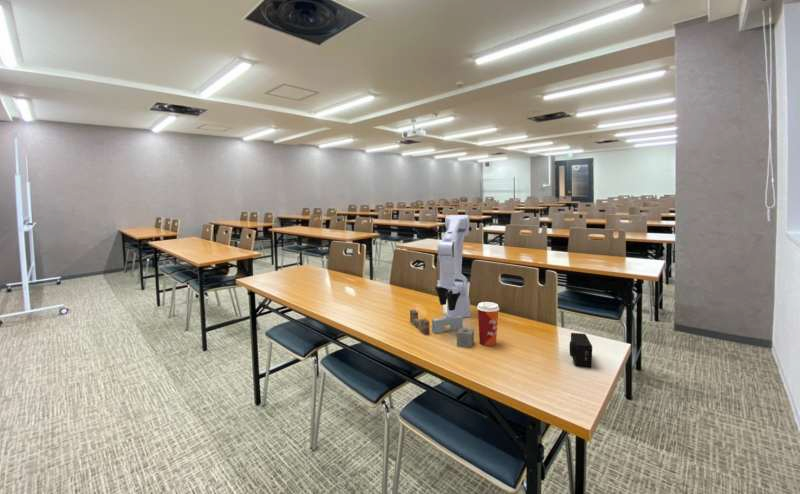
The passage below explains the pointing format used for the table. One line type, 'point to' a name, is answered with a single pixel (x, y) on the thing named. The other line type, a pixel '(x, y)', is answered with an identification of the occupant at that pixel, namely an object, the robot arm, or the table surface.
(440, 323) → the pale blue-gray block
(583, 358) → the digital camera
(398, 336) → the table surface
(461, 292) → the robot arm
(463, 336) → the gray cube with hole
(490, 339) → the paper cup
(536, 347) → the table surface
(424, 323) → the walnut u-shaped block
